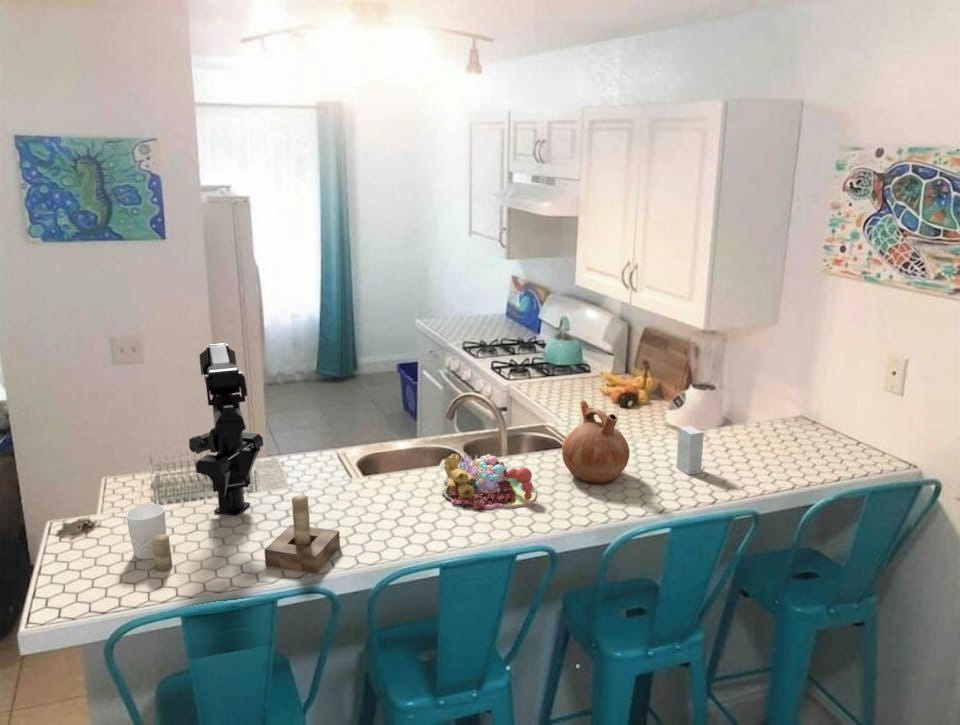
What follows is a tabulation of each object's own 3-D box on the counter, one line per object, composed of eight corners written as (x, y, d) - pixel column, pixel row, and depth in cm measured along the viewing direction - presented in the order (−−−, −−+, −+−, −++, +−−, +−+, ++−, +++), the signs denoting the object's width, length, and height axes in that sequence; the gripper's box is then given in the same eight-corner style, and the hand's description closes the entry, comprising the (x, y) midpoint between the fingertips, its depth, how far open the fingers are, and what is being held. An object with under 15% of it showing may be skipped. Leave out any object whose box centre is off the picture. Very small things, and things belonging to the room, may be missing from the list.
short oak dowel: (161, 562, 175) (158, 533, 173) (175, 564, 174) (172, 535, 172) (152, 570, 171) (148, 540, 170) (165, 572, 171) (162, 542, 169)
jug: (548, 469, 224) (550, 401, 218) (603, 459, 231) (606, 393, 226) (583, 495, 208) (586, 422, 202) (641, 483, 215) (645, 412, 210)
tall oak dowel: (295, 553, 178) (291, 496, 175) (310, 551, 179) (307, 494, 176) (296, 561, 175) (292, 502, 171) (312, 558, 176) (308, 500, 172)
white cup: (174, 543, 183) (169, 503, 180) (162, 561, 175) (157, 519, 173) (139, 544, 183) (134, 503, 180) (125, 561, 175) (120, 519, 172)
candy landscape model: (451, 516, 197) (451, 481, 194) (432, 478, 219) (432, 446, 216) (547, 505, 203) (548, 471, 201) (520, 469, 225) (520, 438, 222)
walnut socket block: (291, 540, 184) (290, 524, 183) (340, 546, 181) (339, 530, 180) (265, 566, 173) (264, 549, 172) (316, 573, 170) (315, 556, 169)
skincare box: (701, 473, 222) (704, 432, 218) (688, 475, 220) (691, 434, 217) (688, 465, 227) (691, 425, 224) (675, 467, 226) (678, 427, 222)
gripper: (218, 406, 187) (224, 468, 192) (170, 434, 170) (177, 501, 174) (261, 410, 185) (266, 473, 189) (216, 439, 167) (223, 507, 172)
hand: (233, 488), depth 181 cm, fingers open, 9 cm apart
